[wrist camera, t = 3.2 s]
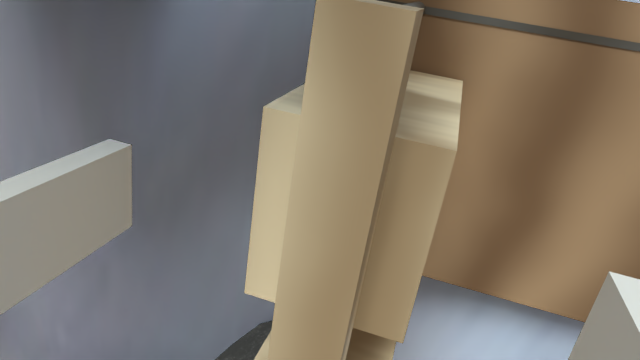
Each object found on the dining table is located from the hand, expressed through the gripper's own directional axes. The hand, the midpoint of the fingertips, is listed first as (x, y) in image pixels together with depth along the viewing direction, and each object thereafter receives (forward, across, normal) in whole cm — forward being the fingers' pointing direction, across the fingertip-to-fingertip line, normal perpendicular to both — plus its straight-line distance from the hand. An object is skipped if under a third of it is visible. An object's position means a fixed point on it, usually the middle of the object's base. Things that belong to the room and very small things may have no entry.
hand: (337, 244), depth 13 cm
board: (+12, +6, 0) cm, 14 cm away
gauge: (+12, 0, -1) cm, 12 cm away
